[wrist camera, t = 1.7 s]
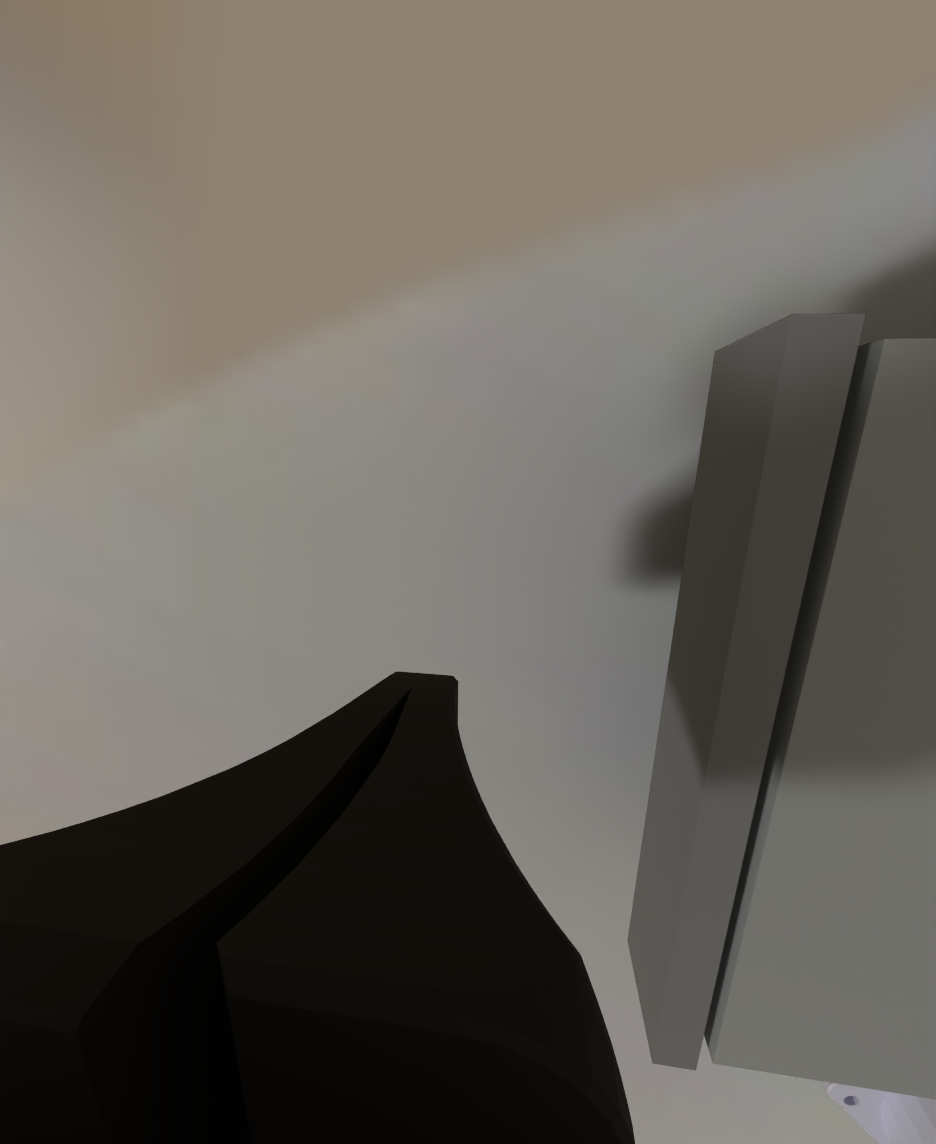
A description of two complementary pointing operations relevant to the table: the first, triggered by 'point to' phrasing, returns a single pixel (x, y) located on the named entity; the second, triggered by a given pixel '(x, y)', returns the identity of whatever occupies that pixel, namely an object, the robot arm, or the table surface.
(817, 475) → the lid
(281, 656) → the table surface
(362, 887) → the robot arm
